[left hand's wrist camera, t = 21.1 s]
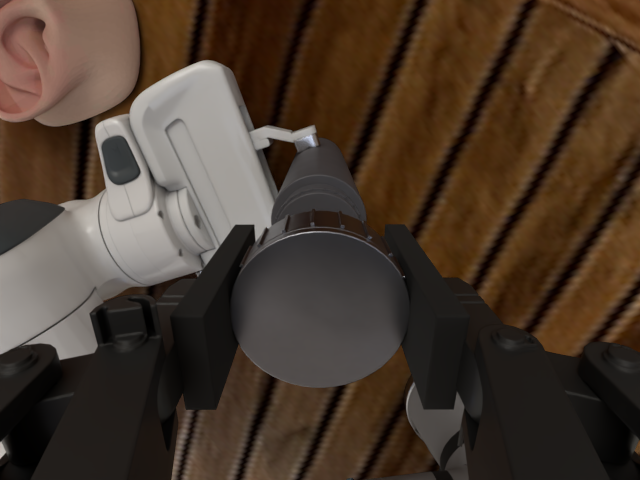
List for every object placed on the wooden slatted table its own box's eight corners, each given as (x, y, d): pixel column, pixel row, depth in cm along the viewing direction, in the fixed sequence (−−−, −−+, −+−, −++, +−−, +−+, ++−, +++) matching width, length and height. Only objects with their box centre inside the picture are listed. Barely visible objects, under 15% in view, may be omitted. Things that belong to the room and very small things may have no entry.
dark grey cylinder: (349, 144, 33) (385, 197, 15) (336, 191, 35) (354, 291, 17) (300, 132, 33) (277, 170, 14) (289, 180, 34) (256, 269, 16)
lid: (241, 342, 13) (228, 383, 11) (242, 201, 11) (225, 221, 9) (385, 352, 13) (397, 394, 11) (410, 214, 11) (429, 236, 9)
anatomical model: (86, -72, 24) (145, 106, 28) (117, -49, 28) (166, 105, 32) (-92, -31, 25) (-9, 136, 29) (-39, -14, 28) (28, 132, 33)
